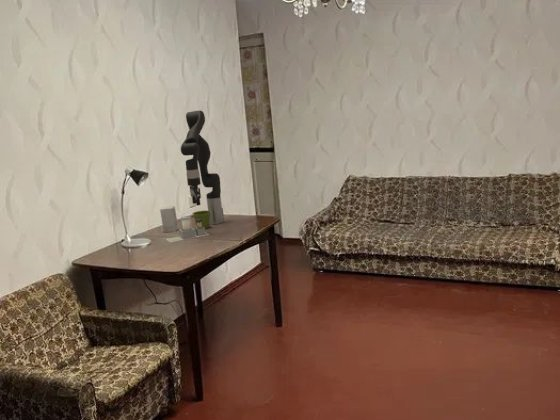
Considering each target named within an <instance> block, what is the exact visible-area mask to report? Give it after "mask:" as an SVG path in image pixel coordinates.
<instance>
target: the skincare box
mask: <svg viewBox="0 0 560 420" xmlns="http://www.w3.org/2000/svg"><path fill="white" fill-rule="evenodd" d="M159 211H160V217H161V223H162V229H163V233H164V234H165V233H173V232H174V233H176V232H177V231H179V226H178V218H177V214H176V206H164V207H162V208H160V209H159Z"/></svg>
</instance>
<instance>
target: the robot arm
mask: <svg viewBox="0 0 560 420" xmlns="http://www.w3.org/2000/svg"><path fill="white" fill-rule="evenodd" d="M185 119H186V120H185V121H186V123H187V127H188V129H189V130H188V132H187V133H186V137H185V140H184V141H183V142H182V143H181V145H180V152H181V154H182V155H183V156H192V157H191V158H188V159H187V160H185V168H186V169H185V170H186V180H187V186H189V192H190V196H191V198H192V204H193V205H194V204H196V206H201V199H202V194H201V187H198V186H200V185H201V184H202V185H203V187H204V188H212V190H211V191H210V192H208V193H206V197H205V198H206V205H207V211H211V213H210V223H209V225H219V224H222V223H225V217H224V216H225V214H224V208H223V206H222V198H221V196H222V195H221V194H222V193H221V191H222V190H221V187H222V186H221V178H220V175H219V174H218V173H216V172H215V173H209V169H208V165H209V161H210V158H211V149H210V145H209V143H208V142H207V140H206V139H205V138H204V137H203V136H202V135H201V132H202V129H203V128H204V126H205V122H206V116H205V113H204V111H202V110H194V111H193V110H192V111H188V112H187V113H186V114H185Z"/></svg>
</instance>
